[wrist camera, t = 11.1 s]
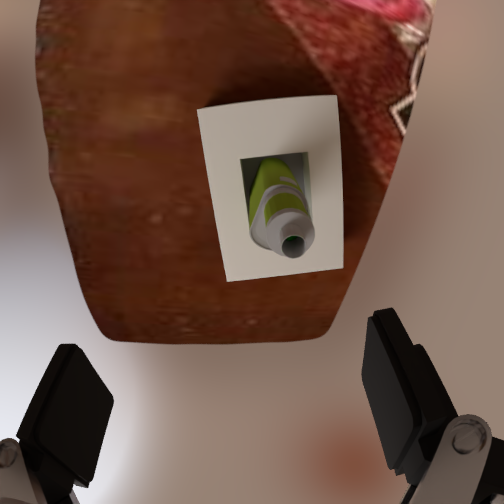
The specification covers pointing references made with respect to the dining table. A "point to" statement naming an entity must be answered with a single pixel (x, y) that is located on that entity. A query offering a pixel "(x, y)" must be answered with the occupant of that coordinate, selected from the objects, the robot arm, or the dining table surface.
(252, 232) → the vape
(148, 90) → the dining table surface
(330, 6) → the dining table surface
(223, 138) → the charging dock
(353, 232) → the dining table surface
